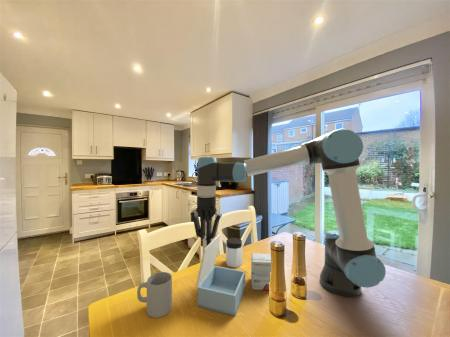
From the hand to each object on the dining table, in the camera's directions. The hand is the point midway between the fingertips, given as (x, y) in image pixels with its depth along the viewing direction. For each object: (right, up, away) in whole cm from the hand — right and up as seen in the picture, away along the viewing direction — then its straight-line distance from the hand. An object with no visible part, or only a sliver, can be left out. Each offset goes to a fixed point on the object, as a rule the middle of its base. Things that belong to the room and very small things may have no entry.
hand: (205, 254), depth 77 cm
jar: (+12, -15, +24) cm, 31 cm away
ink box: (+23, -16, +6) cm, 29 cm away
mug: (-17, -16, -9) cm, 25 cm away
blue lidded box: (+7, -16, -2) cm, 17 cm away
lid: (+2, -1, -1) cm, 2 cm away
